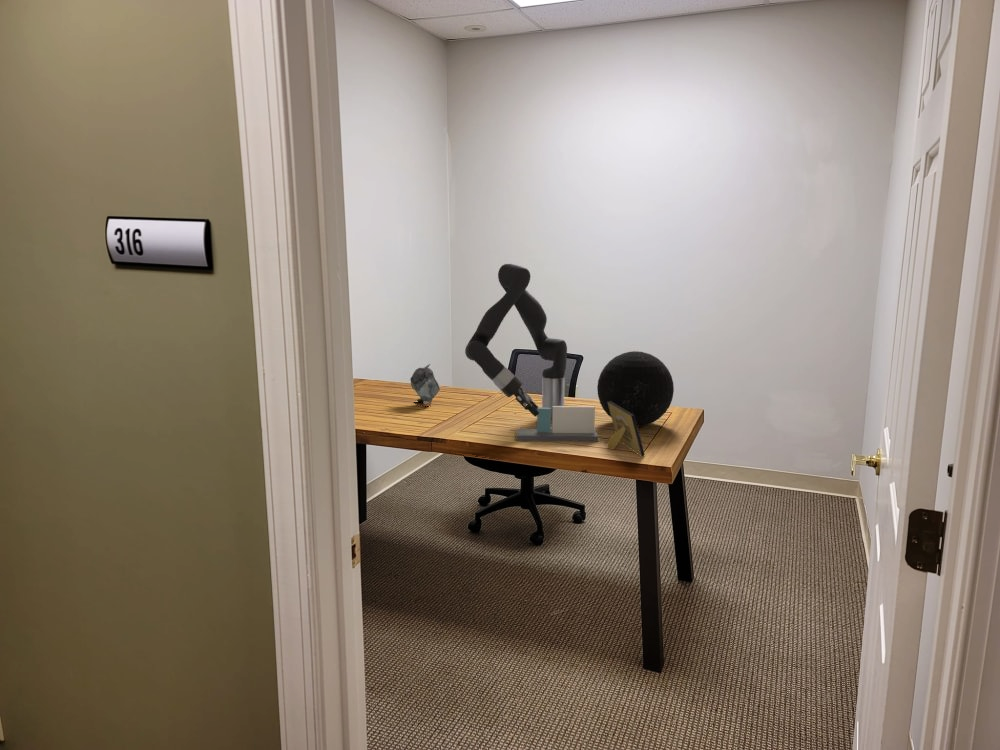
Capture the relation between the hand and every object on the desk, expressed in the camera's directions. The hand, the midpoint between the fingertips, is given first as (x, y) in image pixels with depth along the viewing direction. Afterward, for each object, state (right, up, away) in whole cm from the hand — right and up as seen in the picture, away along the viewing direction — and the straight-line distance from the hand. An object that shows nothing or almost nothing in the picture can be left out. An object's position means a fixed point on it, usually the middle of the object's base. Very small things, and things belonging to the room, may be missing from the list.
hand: (537, 412), depth 262 cm
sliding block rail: (+7, -10, +2) cm, 12 cm away
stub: (+2, -7, +1) cm, 8 cm away
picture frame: (+29, -12, -12) cm, 34 cm away
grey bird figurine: (-48, 0, +56) cm, 74 cm away
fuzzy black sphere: (+40, -7, +20) cm, 45 cm away
